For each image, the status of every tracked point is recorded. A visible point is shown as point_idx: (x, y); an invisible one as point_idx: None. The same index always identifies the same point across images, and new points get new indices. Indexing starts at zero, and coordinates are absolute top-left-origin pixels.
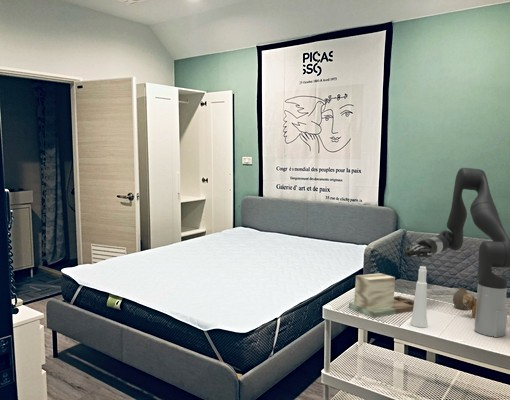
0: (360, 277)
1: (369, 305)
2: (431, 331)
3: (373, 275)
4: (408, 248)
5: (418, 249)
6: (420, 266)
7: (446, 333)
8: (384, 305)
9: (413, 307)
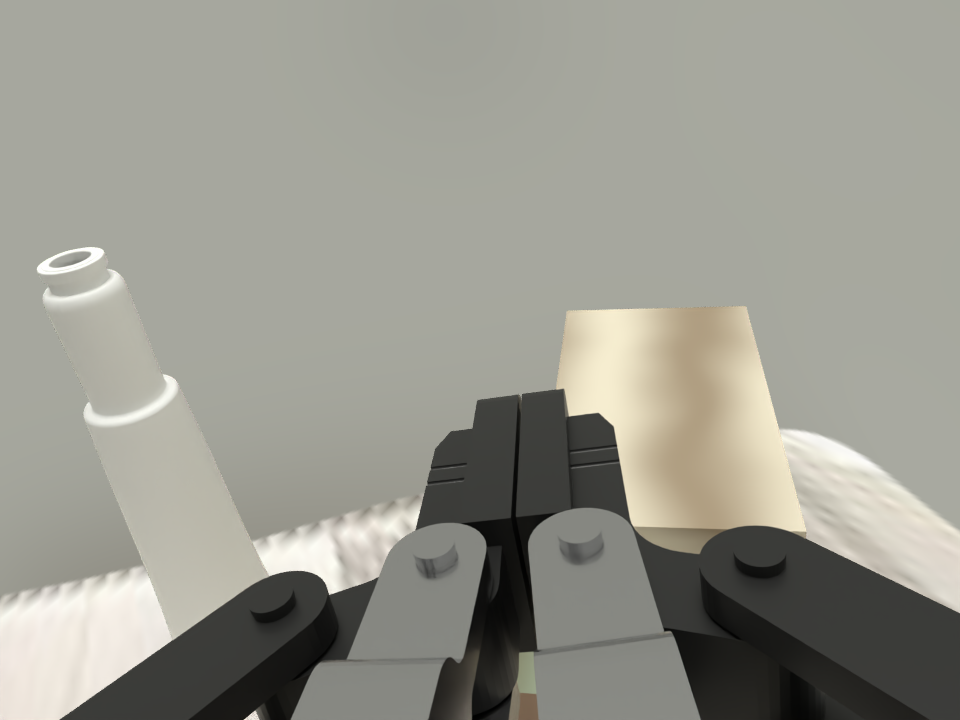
0: (685, 311)
1: None
2: (142, 629)
3: (707, 403)
4: (709, 544)
5: (337, 674)
6: (96, 251)
7: (42, 682)
8: None
9: (256, 551)
